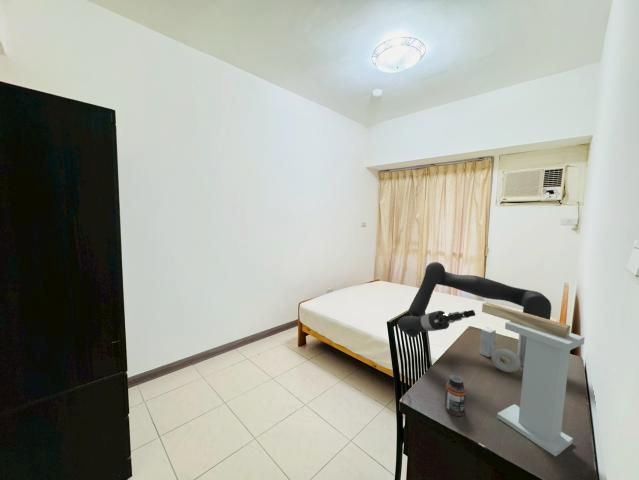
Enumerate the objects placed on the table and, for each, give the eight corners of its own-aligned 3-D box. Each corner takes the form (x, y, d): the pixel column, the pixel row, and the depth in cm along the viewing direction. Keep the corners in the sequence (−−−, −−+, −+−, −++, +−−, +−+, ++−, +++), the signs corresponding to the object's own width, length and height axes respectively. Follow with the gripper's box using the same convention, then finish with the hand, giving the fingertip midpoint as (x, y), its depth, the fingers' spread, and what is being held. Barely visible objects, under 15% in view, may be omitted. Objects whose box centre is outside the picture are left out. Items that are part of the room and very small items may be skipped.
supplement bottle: (448, 401, 89) (450, 370, 88) (466, 410, 85) (469, 378, 84) (441, 409, 85) (444, 378, 84) (461, 420, 81) (463, 386, 80)
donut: (489, 368, 110) (491, 346, 110) (490, 365, 113) (492, 343, 112) (519, 377, 104) (521, 354, 103) (519, 374, 107) (521, 351, 106)
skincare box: (488, 357, 119) (491, 333, 118) (478, 353, 123) (480, 329, 122) (494, 354, 123) (496, 330, 122) (484, 350, 126) (486, 326, 126)
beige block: (486, 310, 91) (487, 302, 90) (569, 335, 71) (570, 325, 71) (481, 311, 89) (482, 303, 89) (565, 338, 70) (566, 327, 70)
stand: (513, 408, 87) (522, 317, 84) (572, 443, 74) (584, 337, 71) (497, 417, 82) (505, 322, 80) (555, 456, 69) (568, 344, 66)
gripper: (419, 314, 108) (450, 306, 95) (442, 310, 114) (474, 302, 101) (426, 333, 105) (459, 327, 92) (449, 327, 111) (482, 321, 98)
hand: (467, 314), depth 96 cm, fingers open, 8 cm apart
